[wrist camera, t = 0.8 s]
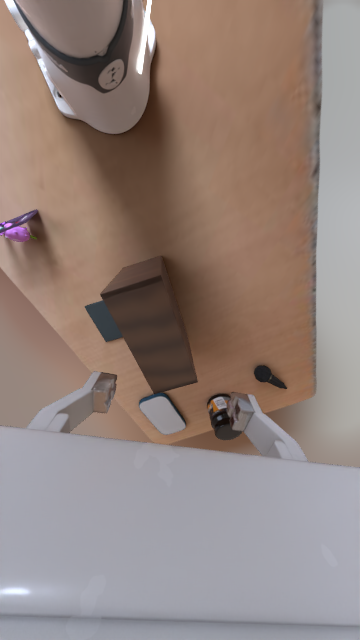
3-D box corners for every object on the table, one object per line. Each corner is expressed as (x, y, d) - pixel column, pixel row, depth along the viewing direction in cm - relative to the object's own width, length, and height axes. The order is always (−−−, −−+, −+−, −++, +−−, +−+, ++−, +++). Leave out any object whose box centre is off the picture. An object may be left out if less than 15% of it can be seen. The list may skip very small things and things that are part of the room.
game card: (20, 216, 32) (-23, 234, 33) (44, 243, 36) (5, 259, 37) (33, 205, 37) (-5, 221, 37) (53, 230, 40) (18, 244, 41)
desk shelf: (122, 267, 44) (99, 294, 28) (161, 255, 44) (160, 274, 27) (156, 344, 56) (154, 394, 40) (187, 335, 55) (198, 382, 39)
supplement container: (216, 389, 68) (225, 419, 57) (237, 396, 71) (250, 427, 61) (201, 406, 72) (207, 437, 61) (222, 412, 75) (232, 443, 65)
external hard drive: (135, 399, 67) (135, 404, 65) (164, 389, 65) (164, 393, 64) (163, 431, 78) (163, 436, 76) (187, 423, 77) (188, 428, 75)
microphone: (283, 378, 73) (256, 360, 63) (297, 387, 68) (269, 368, 58) (276, 389, 73) (247, 373, 64) (288, 398, 68) (260, 382, 58)
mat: (85, 306, 48) (84, 306, 48) (120, 294, 47) (119, 295, 47) (106, 341, 54) (105, 342, 53) (138, 331, 53) (137, 332, 53)
